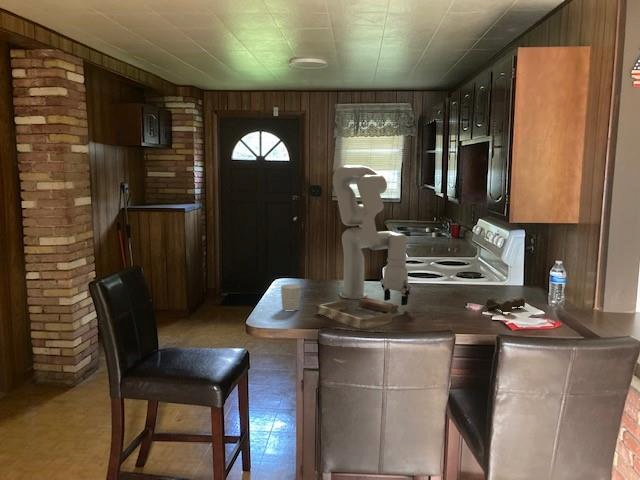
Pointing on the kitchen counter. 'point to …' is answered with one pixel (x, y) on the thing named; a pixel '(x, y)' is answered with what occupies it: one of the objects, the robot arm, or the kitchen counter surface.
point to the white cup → (290, 296)
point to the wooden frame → (354, 321)
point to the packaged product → (378, 307)
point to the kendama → (504, 304)
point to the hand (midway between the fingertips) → (395, 302)
